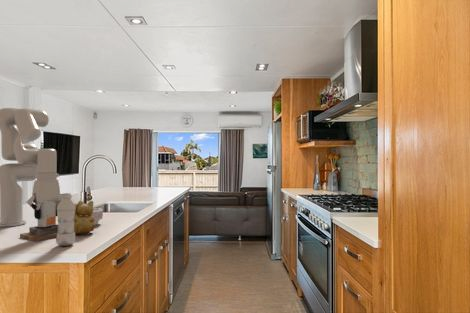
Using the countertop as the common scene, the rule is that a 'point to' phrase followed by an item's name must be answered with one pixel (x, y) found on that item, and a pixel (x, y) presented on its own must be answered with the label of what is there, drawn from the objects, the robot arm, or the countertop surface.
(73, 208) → the plastic bottle
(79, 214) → the decorative figurine
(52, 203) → the skincare box
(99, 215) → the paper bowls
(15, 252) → the countertop surface
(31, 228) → the serum holder
